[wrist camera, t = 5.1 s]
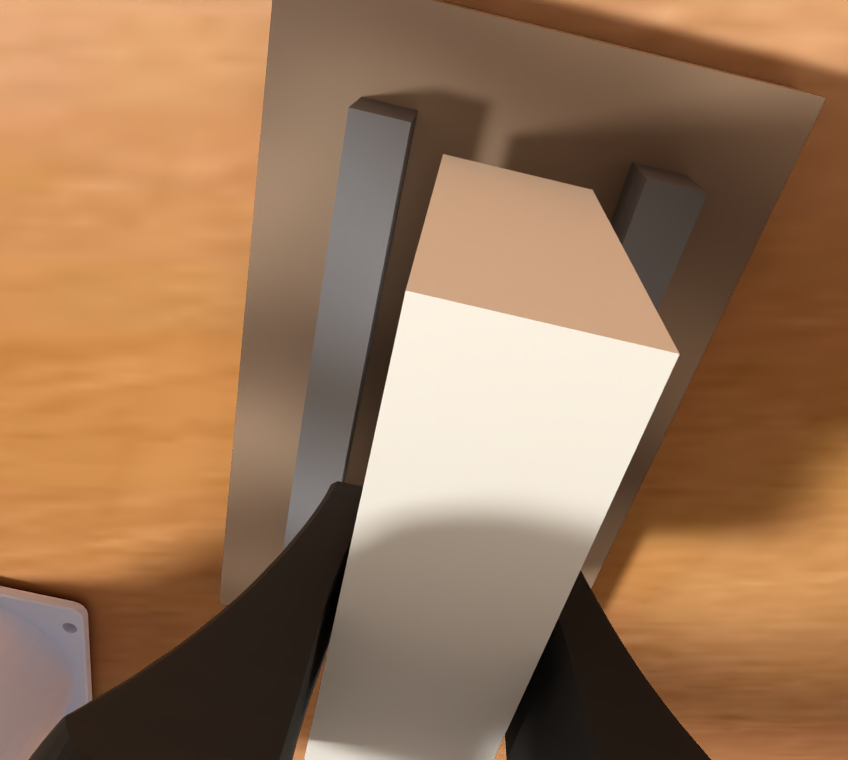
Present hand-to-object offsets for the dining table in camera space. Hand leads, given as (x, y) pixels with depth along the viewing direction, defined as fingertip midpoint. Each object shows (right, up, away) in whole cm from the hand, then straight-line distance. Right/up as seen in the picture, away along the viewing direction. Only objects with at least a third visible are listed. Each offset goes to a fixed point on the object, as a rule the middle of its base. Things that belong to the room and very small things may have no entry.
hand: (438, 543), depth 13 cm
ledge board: (0, +3, +6) cm, 6 cm away
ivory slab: (0, +2, +3) cm, 4 cm away
